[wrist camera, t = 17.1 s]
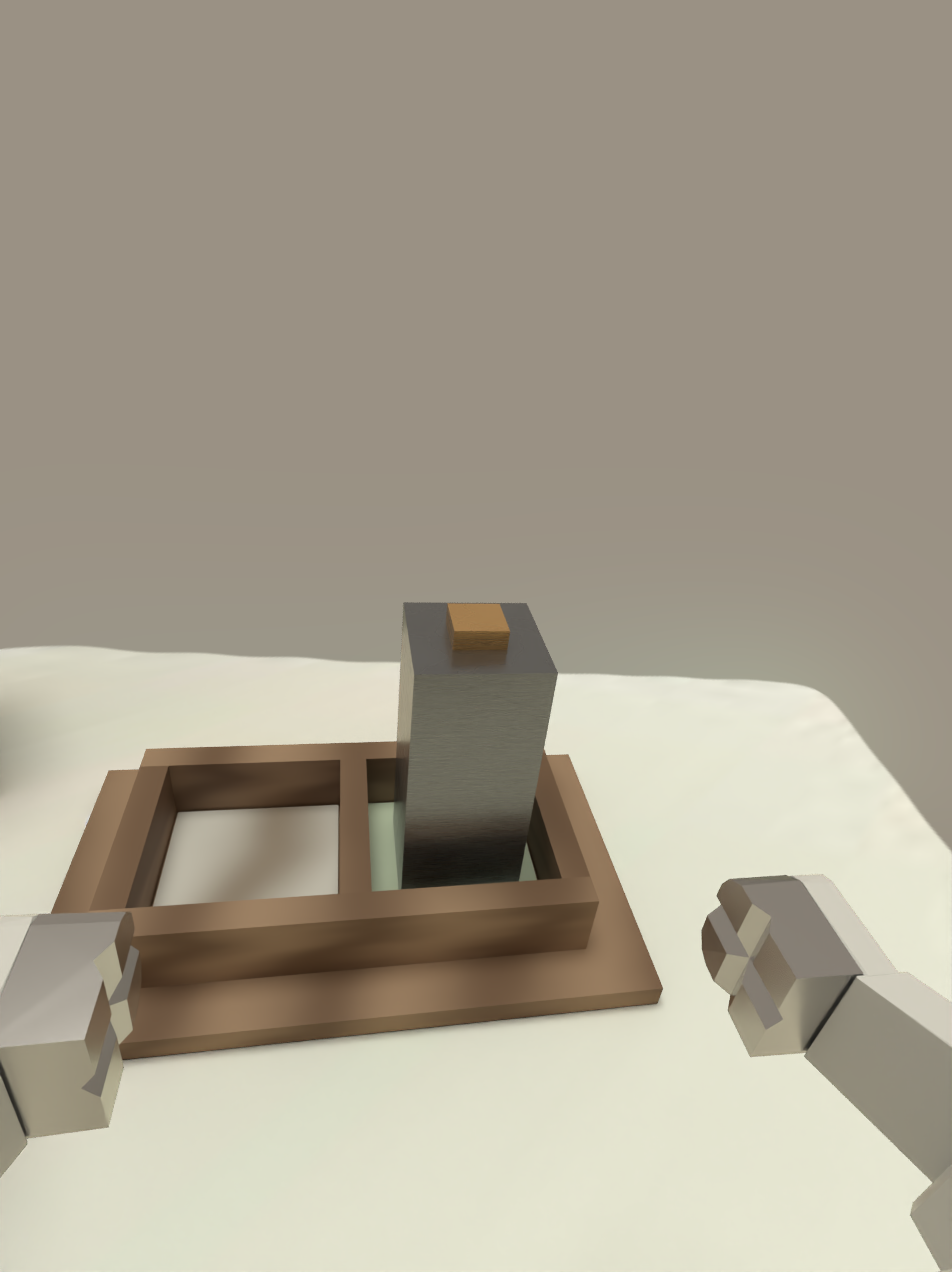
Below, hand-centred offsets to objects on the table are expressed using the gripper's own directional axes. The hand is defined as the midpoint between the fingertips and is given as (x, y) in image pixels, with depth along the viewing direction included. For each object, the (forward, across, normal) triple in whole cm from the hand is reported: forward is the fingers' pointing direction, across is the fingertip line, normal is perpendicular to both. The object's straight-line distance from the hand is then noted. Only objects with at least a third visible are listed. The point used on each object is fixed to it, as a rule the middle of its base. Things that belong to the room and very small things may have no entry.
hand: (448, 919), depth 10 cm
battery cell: (+16, -4, +17) cm, 23 cm away
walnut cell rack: (+16, 0, +18) cm, 24 cm away
